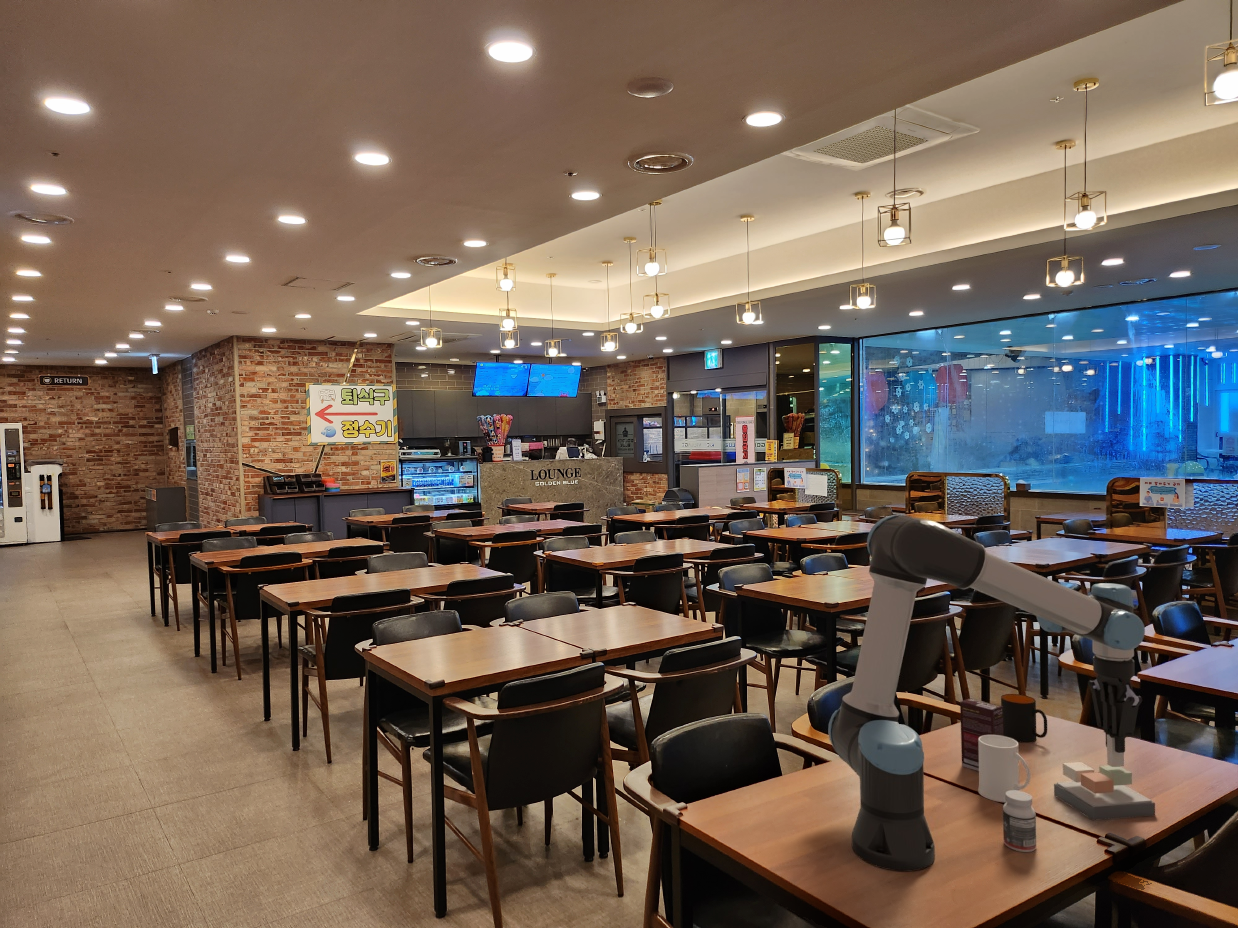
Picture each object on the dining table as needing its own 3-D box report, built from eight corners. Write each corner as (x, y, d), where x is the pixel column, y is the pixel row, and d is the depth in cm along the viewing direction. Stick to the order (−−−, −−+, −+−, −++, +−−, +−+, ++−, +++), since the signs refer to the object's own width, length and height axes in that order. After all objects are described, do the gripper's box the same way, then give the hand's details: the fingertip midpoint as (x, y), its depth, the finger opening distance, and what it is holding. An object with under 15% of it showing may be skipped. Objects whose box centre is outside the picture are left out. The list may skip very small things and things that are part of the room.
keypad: (1093, 820, 160) (1093, 805, 160) (1054, 795, 172) (1053, 781, 172) (1155, 815, 161) (1154, 800, 161) (1112, 790, 173) (1111, 777, 173)
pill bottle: (1004, 835, 154) (1003, 786, 154) (1036, 842, 152) (1036, 792, 151) (1002, 848, 149) (1001, 797, 149) (1035, 855, 147) (1034, 803, 147)
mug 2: (1042, 804, 168) (1041, 749, 167) (1012, 811, 164) (1011, 755, 164) (998, 783, 179) (997, 731, 178) (969, 789, 176) (968, 737, 175)
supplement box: (1005, 771, 185) (1004, 705, 185) (994, 777, 182) (993, 710, 182) (971, 760, 192) (969, 697, 192) (960, 765, 189) (959, 701, 189)
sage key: (1113, 785, 165) (1113, 773, 165) (1099, 777, 169) (1099, 766, 169) (1131, 784, 165) (1131, 772, 165) (1117, 776, 169) (1116, 764, 169)
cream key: (1076, 782, 167) (1076, 770, 167) (1063, 774, 171) (1062, 763, 171) (1094, 780, 167) (1094, 769, 167) (1080, 773, 171) (1080, 761, 171)
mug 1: (1037, 749, 198) (1037, 709, 198) (994, 735, 208) (994, 697, 208) (1056, 742, 202) (1056, 703, 202) (1014, 729, 213) (1013, 691, 212)
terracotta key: (1095, 793, 161) (1095, 781, 161) (1080, 784, 165) (1080, 773, 165) (1113, 791, 162) (1113, 780, 162) (1099, 783, 166) (1098, 771, 166)
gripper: (1153, 663, 161) (1155, 776, 161) (1106, 647, 174) (1109, 752, 174) (1120, 665, 160) (1122, 778, 160) (1076, 649, 173) (1078, 754, 173)
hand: (1115, 764), depth 167 cm, fingers closed
